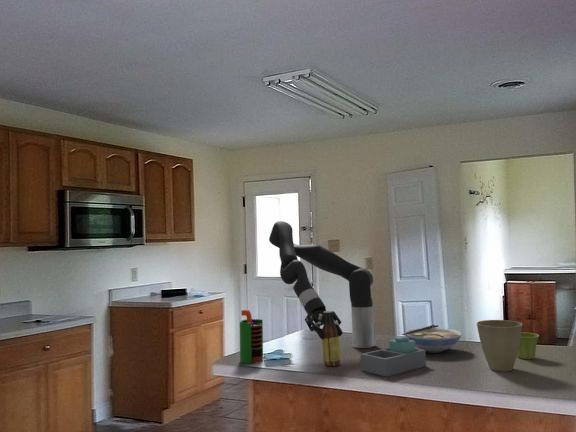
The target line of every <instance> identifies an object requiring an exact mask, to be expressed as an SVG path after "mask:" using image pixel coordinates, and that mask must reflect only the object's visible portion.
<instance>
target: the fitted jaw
mask: <svg viewBox="0 0 576 432" xmlns="http://www.w3.org/2000/svg"><path fill="white" fill-rule="evenodd" d="M388 343H389V345H388V346H389V347H388V348H390V351H393V352H398V353H403V354H406V353H411V352H415V348H416V347H415V341H413V340H409V337H406V335H399V336H398V335H397V336H394V339H391V340H389V341H388Z"/></svg>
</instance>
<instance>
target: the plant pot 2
mask: <svg viewBox="0 0 576 432" xmlns="http://www.w3.org/2000/svg"><path fill="white" fill-rule="evenodd" d="M539 337H540V335H539V334H537V333H533V332H524V331H523V332H521V340H520V345H519V350H518V354H517V357H516V358H518V359H519V358H520V359H521V360H531V359H536V351H537V343H538V340H539Z"/></svg>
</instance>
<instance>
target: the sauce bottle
mask: <svg viewBox="0 0 576 432" xmlns="http://www.w3.org/2000/svg"><path fill="white" fill-rule="evenodd" d="M333 311H334V310H326V311H324V312H323V316H324V325H322V327H321V329H322V330H323V332H324V334H325V335H326V337H325V338H324V339H321V342H322V354H323V355H322V357H323V363H324V365H325V366H328V367H336V366H339V365H341V353H340V352H341V351H340V340H339V337H340V336H338V330H337V328H336V326H335V324H334V312H335V311H334V312H333Z"/></svg>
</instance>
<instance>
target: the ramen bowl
mask: <svg viewBox="0 0 576 432" xmlns="http://www.w3.org/2000/svg"><path fill="white" fill-rule="evenodd" d="M462 335H463V334H462V332H461V331H459V330H455V329H449V328H442V327H441V328H440V327H439V325H435V324H431V325H428V326H424V327H421V328H415V329H413V328H412V329H408V330H406V331H405V332H404V333H402V334H400V336H406V337H409V340H413V341H415V348H417V349H423V350H425V353H433V354H434V353H435V354H436V353H442V352H444V351H446V350H449V349H451V348H453V347H454V346H456V345H457V344H458V342H459V341H460V339H461V337H462Z"/></svg>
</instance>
